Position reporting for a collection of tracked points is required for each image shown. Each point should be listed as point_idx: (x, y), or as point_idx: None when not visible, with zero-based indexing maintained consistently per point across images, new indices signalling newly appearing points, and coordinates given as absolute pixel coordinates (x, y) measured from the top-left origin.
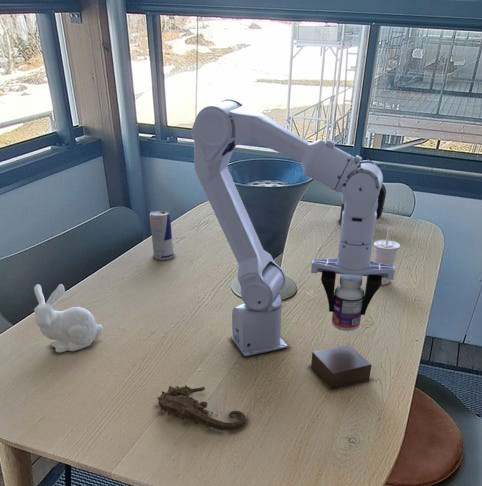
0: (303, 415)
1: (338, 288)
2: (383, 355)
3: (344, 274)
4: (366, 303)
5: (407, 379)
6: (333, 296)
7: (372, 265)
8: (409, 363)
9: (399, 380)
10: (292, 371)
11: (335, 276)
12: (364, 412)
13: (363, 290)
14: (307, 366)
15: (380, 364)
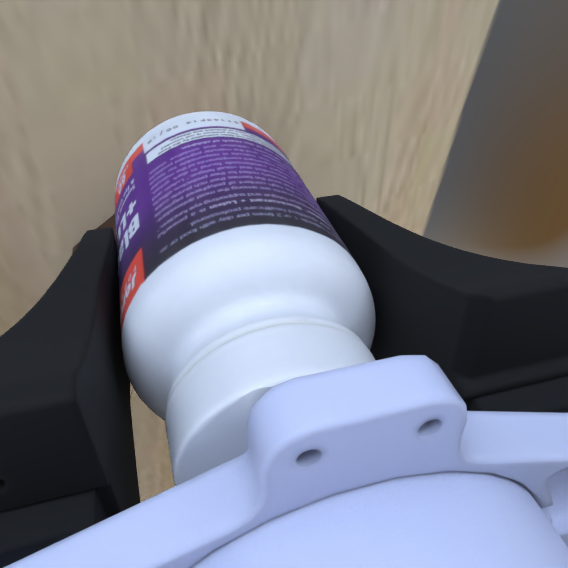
0: (139, 447)
1: (163, 406)
2: (369, 50)
3: (213, 444)
4: None
5: (433, 199)
6: (121, 352)
7: (563, 535)
8: (465, 87)
9: (406, 214)
10: (9, 295)
11: (120, 493)
12: None
13: (372, 336)
14: (54, 244)
15: (350, 132)
